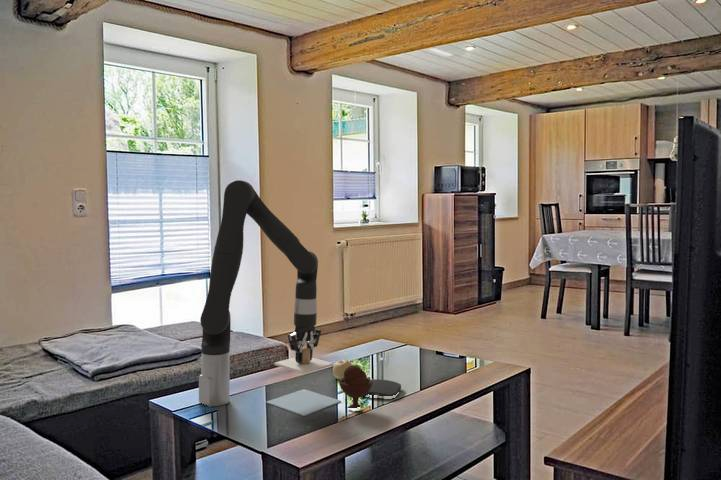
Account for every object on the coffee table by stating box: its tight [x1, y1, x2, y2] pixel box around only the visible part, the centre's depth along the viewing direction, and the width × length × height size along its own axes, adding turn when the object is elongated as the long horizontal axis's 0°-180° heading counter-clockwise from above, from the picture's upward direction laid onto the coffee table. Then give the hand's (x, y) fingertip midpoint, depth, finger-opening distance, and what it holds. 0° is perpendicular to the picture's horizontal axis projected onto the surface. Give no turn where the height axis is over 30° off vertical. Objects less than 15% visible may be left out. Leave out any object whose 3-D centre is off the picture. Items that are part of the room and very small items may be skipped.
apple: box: [332, 359, 353, 381], centre depth 233 cm, size 8×8×8 cm
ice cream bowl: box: [338, 364, 373, 408], centre depth 200 cm, size 11×11×15 cm
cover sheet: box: [273, 346, 334, 375], centre depth 205 cm, size 14×14×6 cm
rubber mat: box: [265, 388, 342, 417], centre depth 206 cm, size 18×18×1 cm
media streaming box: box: [364, 378, 402, 396], centre depth 219 cm, size 15×15×3 cm
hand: (303, 361), depth 205 cm, fingers closed on cover sheet, 4 cm apart
